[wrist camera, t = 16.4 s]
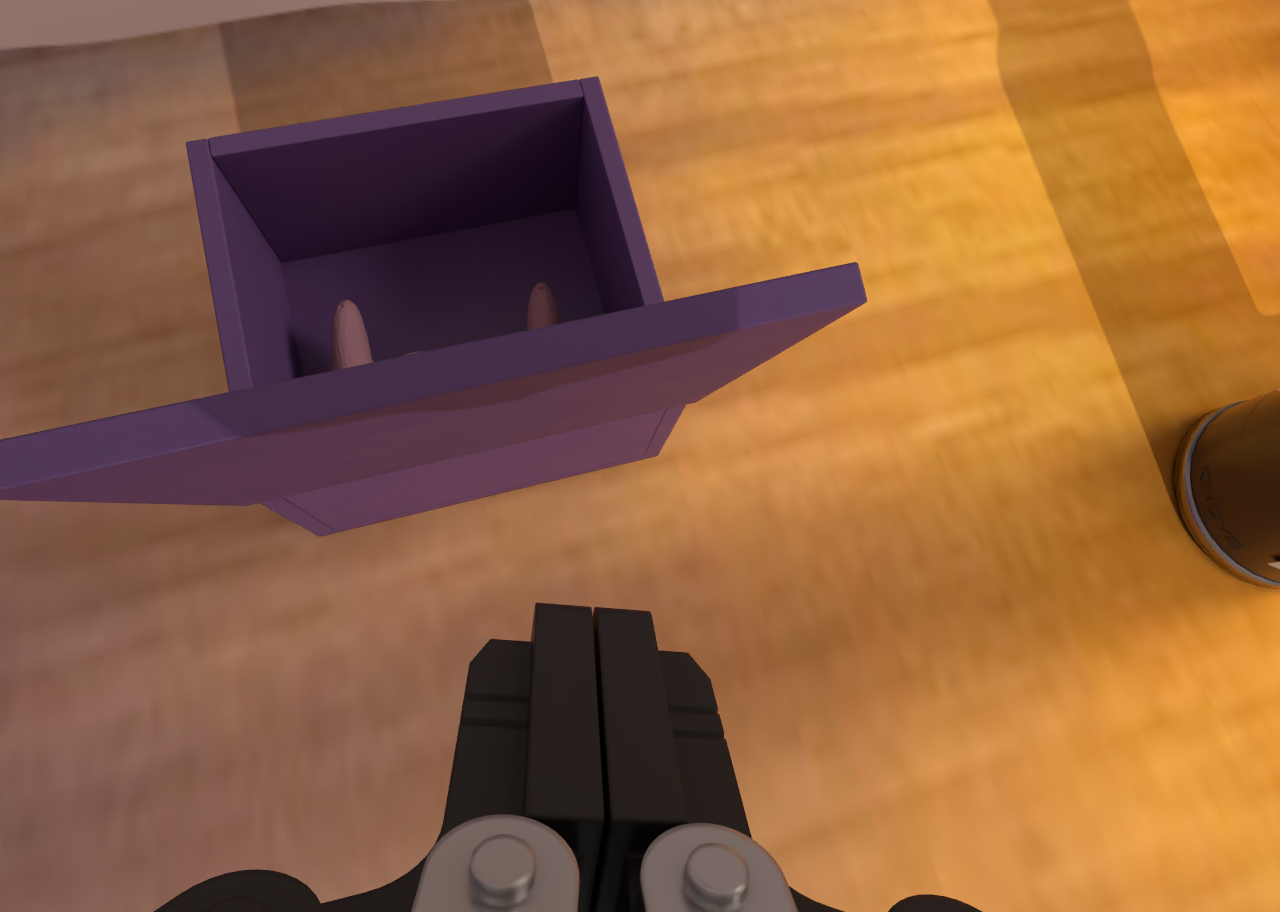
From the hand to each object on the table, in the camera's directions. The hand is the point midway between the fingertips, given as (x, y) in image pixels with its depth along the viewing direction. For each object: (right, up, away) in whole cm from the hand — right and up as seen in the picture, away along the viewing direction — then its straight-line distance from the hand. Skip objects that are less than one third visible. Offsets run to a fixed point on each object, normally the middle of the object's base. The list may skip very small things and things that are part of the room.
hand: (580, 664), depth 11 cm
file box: (-8, +7, +28) cm, 30 cm away
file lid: (-4, +4, +11) cm, 12 cm away
